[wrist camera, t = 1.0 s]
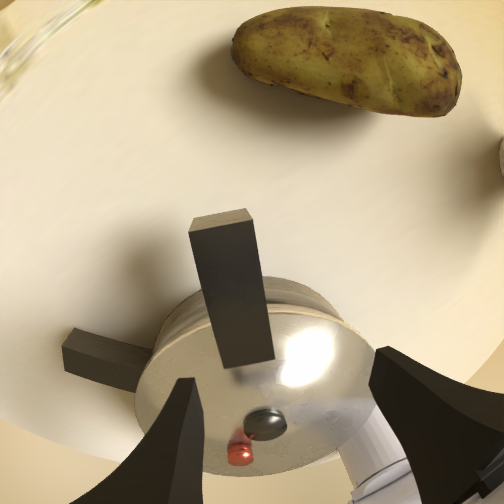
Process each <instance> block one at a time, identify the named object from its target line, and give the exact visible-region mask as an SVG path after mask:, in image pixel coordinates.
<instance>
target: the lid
mask: <svg viewBox="0 0 504 504" xmlns="http://www.w3.org/2000/svg"><path fill="white" fill-rule="evenodd" d="M188 233H189V238H190V242H191V247H192V251H193V255H194V259H195V264H196V268H197V272H198V276H199V280H200V284H201V288H202V292H203V296H204V300H205V304H206V307H207V311H208V315H209V319H210V320H207V321H204V322H201V323H199V324H197V325H195V326H193V327H191V328H189V329H187V330H185V331H183V332H181V333H180V334H178V335H177V336H175V337H174V338H172V339H171V340H169V341H168V342H167V343H166V344H164V345H163V346H162V347H161V348H160V349H159V350H158V351H157V352H156V353H155V354H154V355H153V356H152V358H151V359H150V360H149V361H148V363H147V364H146V366H145V368H144V370H143V372H142V374H141V376H140V379H139V383H138V386H137V390H136V394H135V412H136V417H137V420H138V423H139V425H140V427H141V429H142V431H143V432H144V434H146V433H147V432H148V430H149V429H150V427H151V426H152V424H153V423H154V421H155V420H156V418H157V416H158V415H159V413H160V411H161V409H162V408H163V406H164V404H165V402H166V401H167V399H168V397H169V395H170V393H171V391H172V389H173V387H174V385H175V382H176V380H177V379H178V378H189V377H195V381H196V385H197V389H198V393H199V396H200V400H201V404H202V408H203V411H204V428H205V439H204V455H203V472H207V473H212V474H217V475H224V476H237V477H249V476H263V475H269V474H276V473H281V472H285V471H289V470H292V469H296V468H299V467H302V466H304V465H307V464H309V463H312V462H314V461H316V460H318V459H320V458H322V457H324V456H326V455H328V454H329V453H331V452H333V451H334V450H336V449H337V448H339V447H340V446H341V445H343V444H344V443H345V442H347V441H348V440H349V439H350V438H351V437H352V436H354V435H355V434H356V433H357V431H358V430H359V429H360V428H361V427H362V426H363V425H364V423H365V422H366V421H367V420H368V418H369V417H370V415H371V413H372V412H373V410H374V408H375V406H376V402H375V400H374V398H373V396H372V393H371V391H370V388H369V386H368V383H369V379H370V375H371V370H372V366H373V362H374V357H375V352H374V350H373V348H372V347H371V346H370V345H369V343H368V342H367V341H366V340H365V339H364V338H363V336H362V335H361V334H360V333H359V332H358V331H356V330H355V329H354V328H352V327H351V326H350V325H348V324H346V323H344V322H342V321H341V320H339V319H337V318H334V317H332V316H329V315H326V314H323V313H320V312H315V311H310V310H305V309H296V308H283V307H279V308H267V303H266V297H265V291H264V284H263V278H262V272H261V266H260V260H259V254H258V248H257V242H256V236H255V230H254V224H253V219H252V217H251V216H250V214H249V213H248V211H247V209H246V208H244V209H239V210H234V211H228V212H223V213H218V214H213V215H208V216H203V217H198V218H194V219H193V222H192V224H191V226H190V229H189V231H188Z"/></svg>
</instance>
